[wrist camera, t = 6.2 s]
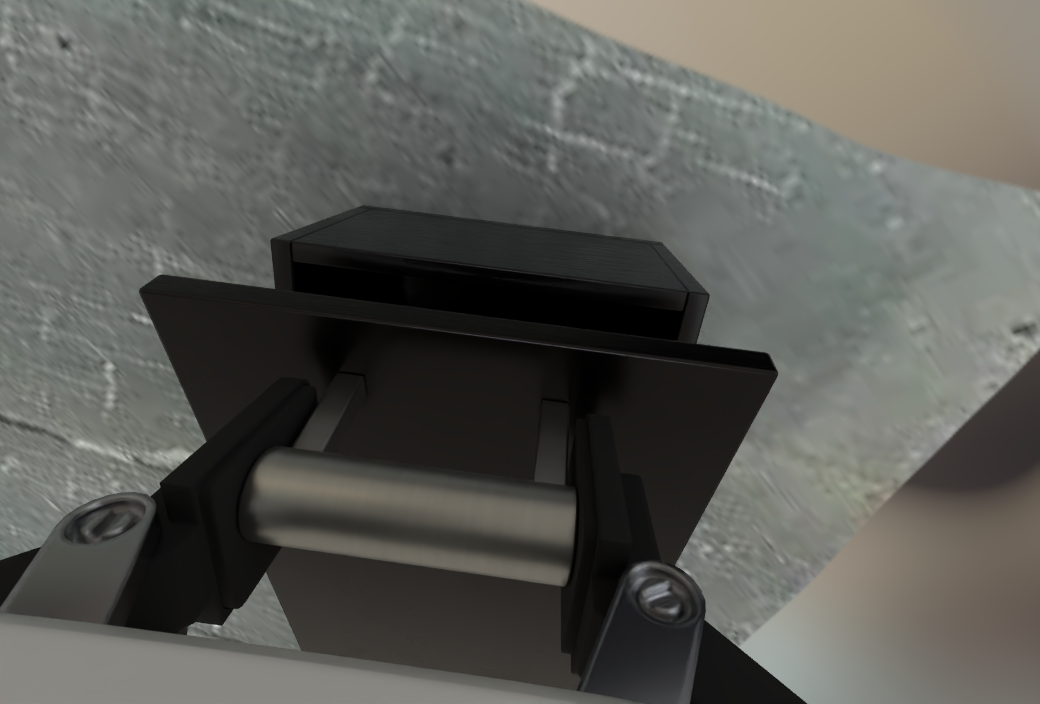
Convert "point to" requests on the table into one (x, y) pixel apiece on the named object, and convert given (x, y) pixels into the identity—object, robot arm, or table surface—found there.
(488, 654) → the lid
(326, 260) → the box
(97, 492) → the table surface
